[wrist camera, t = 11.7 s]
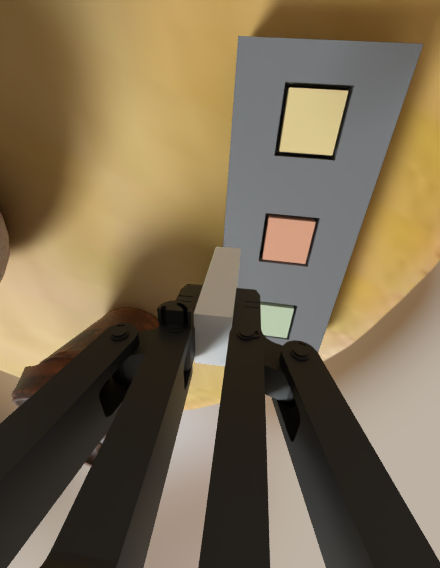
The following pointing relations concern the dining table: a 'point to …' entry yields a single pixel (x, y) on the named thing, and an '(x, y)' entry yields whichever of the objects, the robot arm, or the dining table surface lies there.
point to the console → (309, 164)
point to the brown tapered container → (54, 363)
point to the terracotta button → (287, 238)
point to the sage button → (276, 319)
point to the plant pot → (3, 247)
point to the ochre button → (311, 120)
